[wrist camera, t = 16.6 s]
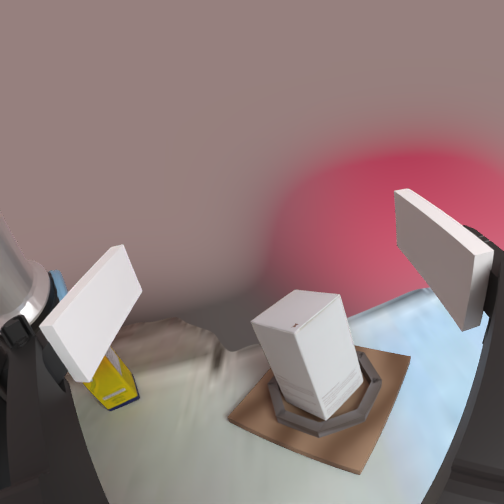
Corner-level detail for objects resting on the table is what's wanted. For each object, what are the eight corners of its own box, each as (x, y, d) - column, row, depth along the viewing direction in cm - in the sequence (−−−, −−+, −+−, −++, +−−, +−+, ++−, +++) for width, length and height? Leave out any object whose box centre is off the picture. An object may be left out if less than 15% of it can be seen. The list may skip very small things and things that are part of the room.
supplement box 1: (105, 388, 45) (68, 344, 40) (133, 374, 47) (99, 328, 42) (110, 413, 40) (68, 369, 35) (140, 398, 42) (102, 352, 37)
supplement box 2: (365, 381, 34) (342, 293, 31) (325, 423, 30) (292, 334, 27) (322, 367, 40) (295, 287, 37) (283, 401, 36) (247, 320, 33)
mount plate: (229, 422, 36) (223, 410, 35) (299, 338, 48) (297, 325, 47) (359, 475, 25) (361, 465, 24) (409, 362, 37) (411, 348, 36)
